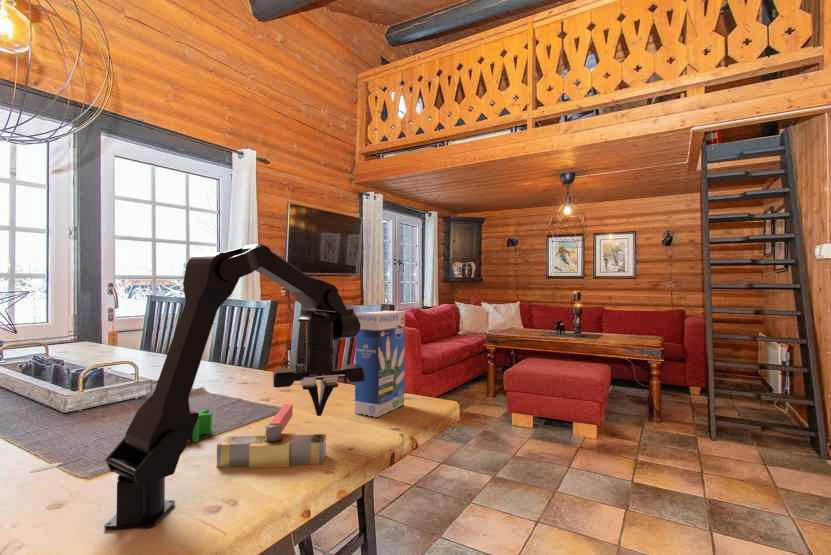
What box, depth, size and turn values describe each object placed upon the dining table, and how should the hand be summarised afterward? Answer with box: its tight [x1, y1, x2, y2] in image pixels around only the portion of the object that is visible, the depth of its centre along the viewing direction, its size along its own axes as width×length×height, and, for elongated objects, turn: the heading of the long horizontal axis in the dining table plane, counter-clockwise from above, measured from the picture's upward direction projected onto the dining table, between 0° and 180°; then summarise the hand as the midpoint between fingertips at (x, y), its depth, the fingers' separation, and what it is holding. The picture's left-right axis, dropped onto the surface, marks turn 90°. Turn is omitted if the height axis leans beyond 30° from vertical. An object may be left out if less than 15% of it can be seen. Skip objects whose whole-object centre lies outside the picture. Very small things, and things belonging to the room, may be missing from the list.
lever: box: [265, 403, 294, 441], centre depth 86 cm, size 14×3×3 cm, turn 5°
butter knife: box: [29, 462, 62, 473], centre depth 85 cm, size 1×27×3 cm
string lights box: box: [354, 310, 406, 418], centre depth 113 cm, size 13×8×26 cm, turn 150°
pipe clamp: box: [192, 408, 213, 443], centre depth 92 cm, size 11×4×5 cm, turn 173°
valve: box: [216, 432, 327, 469], centre depth 80 cm, size 6×19×4 cm, turn 95°
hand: (318, 415), depth 91 cm, fingers closed
